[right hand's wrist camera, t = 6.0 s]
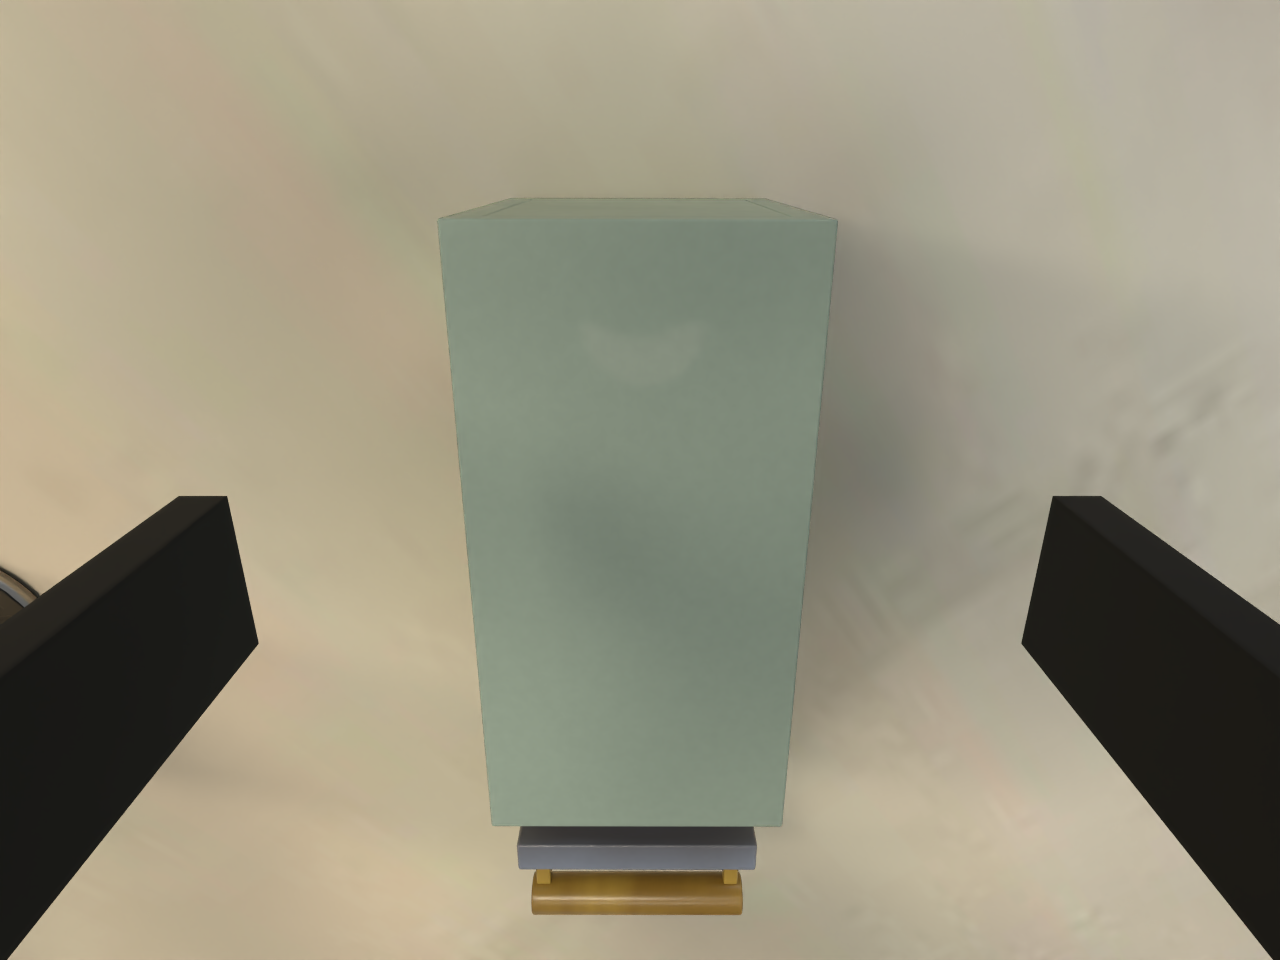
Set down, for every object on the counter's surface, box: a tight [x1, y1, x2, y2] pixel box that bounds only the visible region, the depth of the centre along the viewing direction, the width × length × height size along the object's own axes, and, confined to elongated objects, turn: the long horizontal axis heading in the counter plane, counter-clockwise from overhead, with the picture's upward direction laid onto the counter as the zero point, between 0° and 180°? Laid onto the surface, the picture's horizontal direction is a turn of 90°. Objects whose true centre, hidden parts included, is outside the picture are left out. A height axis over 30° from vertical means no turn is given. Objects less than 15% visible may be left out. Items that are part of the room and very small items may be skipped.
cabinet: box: [437, 198, 838, 827], centre depth 28 cm, size 20×10×12 cm, turn 0°
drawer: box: [517, 826, 757, 915], centre depth 31 cm, size 24×9×10 cm, turn 0°
